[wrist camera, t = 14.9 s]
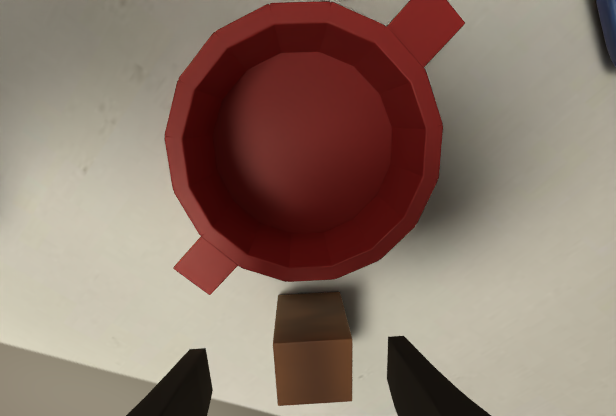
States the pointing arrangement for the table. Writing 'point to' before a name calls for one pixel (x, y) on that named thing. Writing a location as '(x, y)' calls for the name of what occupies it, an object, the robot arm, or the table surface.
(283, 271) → the pot
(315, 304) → the block
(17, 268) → the table surface
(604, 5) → the flower pot
